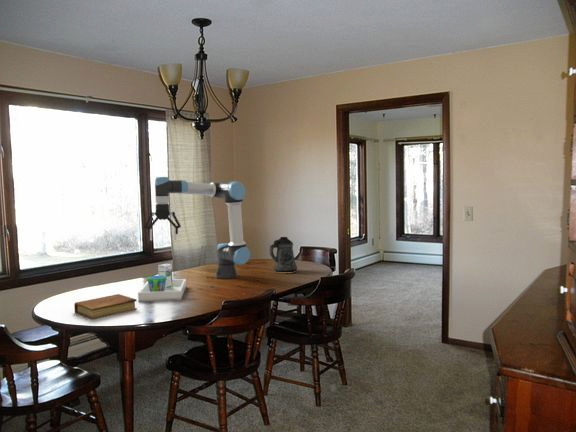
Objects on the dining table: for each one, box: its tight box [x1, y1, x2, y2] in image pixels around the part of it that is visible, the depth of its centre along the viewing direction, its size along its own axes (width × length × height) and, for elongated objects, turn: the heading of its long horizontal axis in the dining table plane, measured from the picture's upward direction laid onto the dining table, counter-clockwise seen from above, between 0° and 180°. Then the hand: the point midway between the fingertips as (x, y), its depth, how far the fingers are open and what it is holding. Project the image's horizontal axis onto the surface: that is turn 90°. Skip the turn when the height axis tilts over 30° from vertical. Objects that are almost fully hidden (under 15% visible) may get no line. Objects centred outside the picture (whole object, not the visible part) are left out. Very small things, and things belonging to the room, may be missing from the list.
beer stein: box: [268, 236, 298, 272], centre depth 327 cm, size 16×19×25 cm
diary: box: [74, 293, 138, 320], centre depth 229 cm, size 23×19×6 cm
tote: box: [137, 278, 187, 303], centre depth 264 cm, size 22×32×5 cm
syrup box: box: [157, 263, 173, 290], centre depth 273 cm, size 6×6×14 cm
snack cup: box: [146, 275, 167, 292], centre depth 257 cm, size 16×10×10 cm
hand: (163, 240), depth 266 cm, fingers open, 13 cm apart
